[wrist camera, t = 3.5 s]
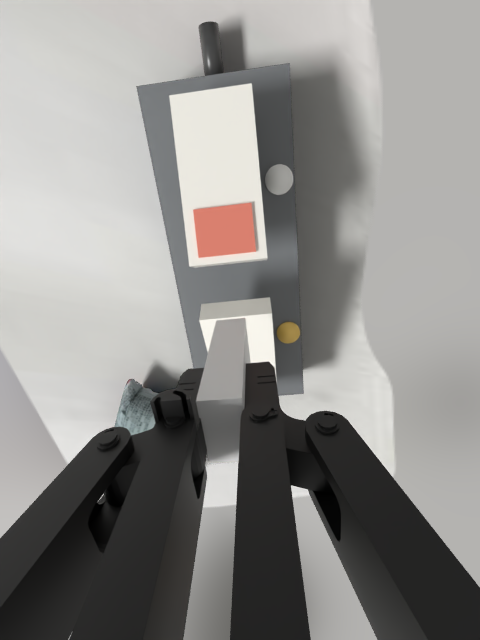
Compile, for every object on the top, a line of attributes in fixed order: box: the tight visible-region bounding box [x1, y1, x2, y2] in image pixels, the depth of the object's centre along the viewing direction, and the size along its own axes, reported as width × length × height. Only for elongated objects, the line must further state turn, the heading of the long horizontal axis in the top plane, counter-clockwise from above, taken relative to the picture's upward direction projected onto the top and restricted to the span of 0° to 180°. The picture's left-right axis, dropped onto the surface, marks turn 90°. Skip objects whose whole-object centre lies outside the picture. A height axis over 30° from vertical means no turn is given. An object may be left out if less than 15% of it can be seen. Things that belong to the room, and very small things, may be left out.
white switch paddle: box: [199, 297, 277, 382], centre depth 22 cm, size 9×4×2 cm, turn 6°
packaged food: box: [115, 379, 159, 435], centre depth 31 cm, size 9×12×5 cm
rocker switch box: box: [136, 22, 304, 396], centre depth 23 cm, size 26×9×5 cm, turn 7°
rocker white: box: [169, 83, 267, 268], centre depth 18 cm, size 9×4×2 cm, turn 7°
